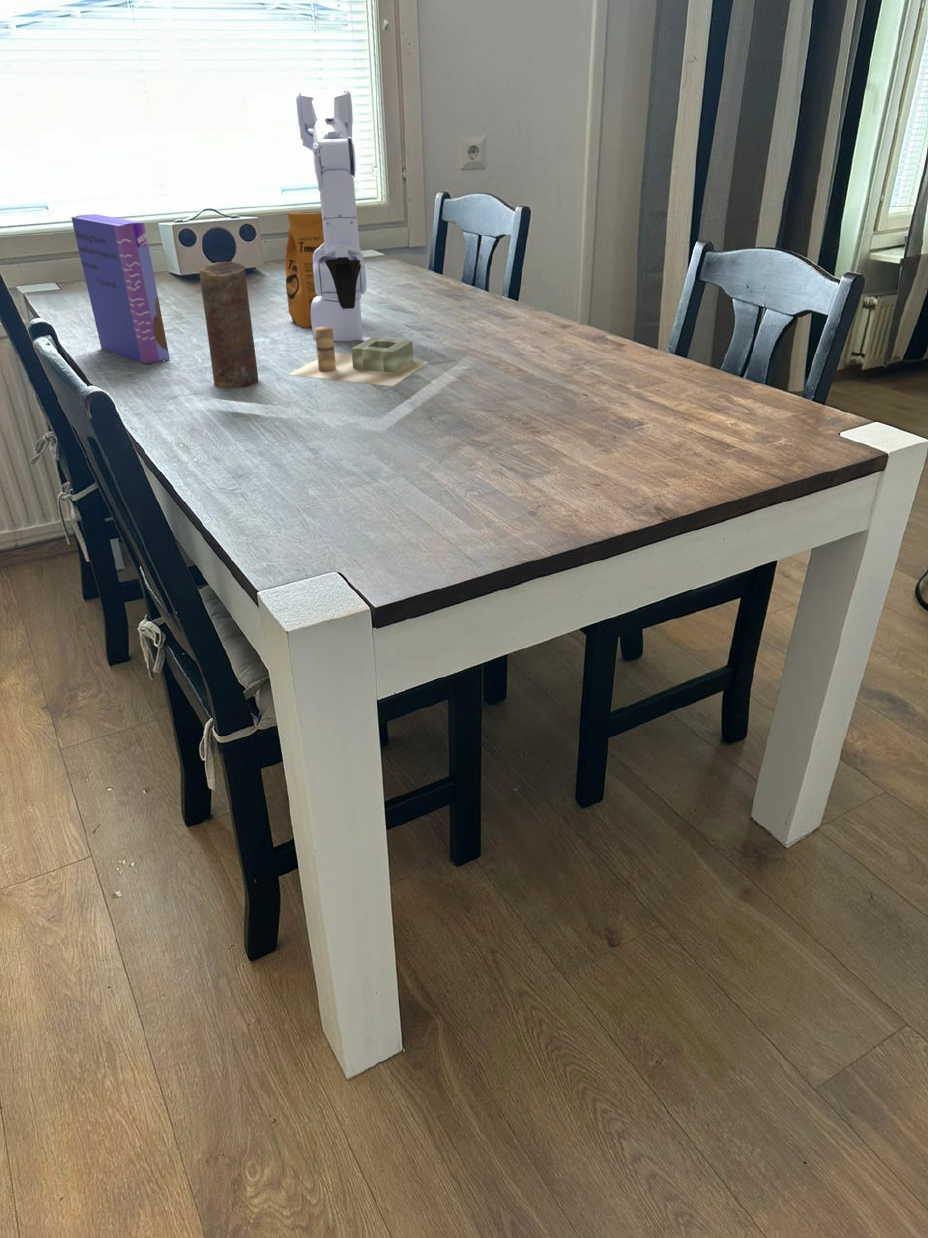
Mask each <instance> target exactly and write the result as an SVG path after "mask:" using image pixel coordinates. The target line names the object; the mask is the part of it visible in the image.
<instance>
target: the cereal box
mask: <svg viewBox="0 0 928 1238" xmlns="http://www.w3.org/2000/svg"><path fill="white" fill-rule="evenodd" d="M71 222H72V226H73V232H74V236H75V239H76V240H75V241H76V244H77V249H78V251H79V257H80V262H81V265H82V269H83V271H82V272H83V274H84V279H85V283H86V286H87V287H86V288H87V293H88V297H89V300H90V301H89V302H90V305H91V310H92V314H93V317H94V322H95V327H96V330H97V336H98V340H99V344H100V348H101V350H103V351H108V352H110V353H113V354H115V355H119V356H121V357H124V358H127V359H129V360H133V361H134V362H138V363H140V364H143V365H146V366H148V364H149V365H153V364H156V363H155V362H158V361H162V362H164V361H163V360H166V359H170V352H169V349H168V343H167V342H168V341H167V337H166V332H165V326H164V322H163V318H162V317H163V315H162V312H161V304H160V300H159V295H158V289H157V285H156V279H155V274H154V269H153V262H152V259H151V258H152V257H151V252H150V247H149V242H148V238H147V237H148V236H147V232H146V225H145V223H144V222H141V221H135V220H130V219H123V218H119V217H118V218H117V217H113V216H108V215H102V214H93V213H92V214H80V215H76V216H72V217H71ZM166 361H167V360H166ZM152 363H153V364H152ZM158 363H159V362H158Z"/></svg>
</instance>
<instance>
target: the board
mask: <svg viewBox="0 0 928 1238" xmlns="http://www.w3.org/2000/svg"><path fill="white" fill-rule="evenodd" d="M335 362H336V370H334V371H331V372H322V371H319V366H318V358H316V359H314V360H313V361H311V362H308V363H307V364H305V365H303V366H301V367H299V368H298V369H296V370H293V371H292V372H290V373H288V374H287V375H288V376H296V377H303V378H304V377H305V378H314V379H322V380H333V381H341V382H350V383H358V384H365V385H366V384H369V385H375V386H385V387H394V386H396V385H397V384H398V383H400V382H402V381H403V380H405V379H406V378H408V377H409V376H411V375H412V374H413V373H415V372H416V371H418V370H420V369H421V368H422V367H424V366H425V365H427V364H429V361H420V360H414V347H413V340H409V339H408V340H405V339H395V338H385V337H375V336H373V337H370V339H368V340H366V341H364V340H363V341H362V342H361V343H359V344H357V345H355V346H353V347H351V354H350V353H339V352H335Z"/></svg>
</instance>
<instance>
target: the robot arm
mask: <svg viewBox="0 0 928 1238" xmlns="http://www.w3.org/2000/svg"><path fill="white" fill-rule="evenodd" d="M295 99H296V111H297V121H298V126H299V134H300V135H299V136H300V139H301V141H302V146H304V147H305V148H306V149H309V150H311V151H312V153H313V154H312V155H313V165H314V172H315V176H316V177H315V178H316V179H317V180H316V181H317V187H318V192H320V194H319V198H320V208H321V209H320V210H321V211H320V212H322V222H323V232H324V243H323V244H322V245H321V246H320V247H319V248H318V249H316V250H315V251H314V255H313V273H314V284H315V292H316V294H317V295H318V296H316V297H315V298H314V299H313V301H312V304H311V323H312V327H311V331H312V332H311V333H312V338H313V339H316V336H315V328H317V327H323V326H327V327H332V329H333V340H334V341H335V342H351V341H363V342H364V341H366V340H368V339H370V338H371V337H370V336H363V322H362V309H361V308H362V307H361V299H362V295H364V294H365V292H367V288H368V287H367V273H366V263H365V260H364V254H363V252H362V248H361V247H360V239H359V226H358V214H357V212H358V211H357V204H356V202H357V201H356V192H355V191H356V190H355V189H356V187H355V179H354V178H355V177H356V166H357V165H356V164H357V163H356V152H355V151H356V150H355V144H354V143H353V121H354V119H353V115H354V114H353V103H352V96H351V92H350V90H348V88H344V89H315V90H314V89H312V90H311V89H308V90H307V89H305V90H304V89H303V90H302V88H301V89H300V88H299V89H297V90H296V92H295ZM321 293H322V296H321Z"/></svg>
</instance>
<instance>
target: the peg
mask: <svg viewBox="0 0 928 1238" xmlns="http://www.w3.org/2000/svg"><path fill="white" fill-rule="evenodd" d="M315 336H316V338H315V346H316V355H317V356H316V357H317V359H318V366H319V371H322V372H331V371H334V370H336V362H335V353H336V352H335V344H334V343H335V342H334V340H333V329H332V327H327V326H323V327H317V328H315Z"/></svg>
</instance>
